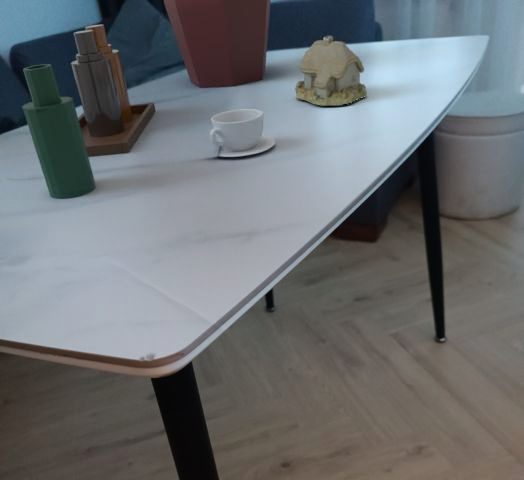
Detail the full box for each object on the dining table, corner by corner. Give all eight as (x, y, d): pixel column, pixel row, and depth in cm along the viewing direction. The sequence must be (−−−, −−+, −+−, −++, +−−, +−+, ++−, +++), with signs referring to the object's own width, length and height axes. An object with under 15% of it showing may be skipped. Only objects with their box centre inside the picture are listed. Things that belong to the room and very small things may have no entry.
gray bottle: (85, 138, 97) (58, 36, 89) (94, 128, 102) (69, 31, 94) (121, 134, 97) (97, 31, 88) (128, 125, 102) (106, 26, 93)
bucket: (302, 72, 130) (294, -68, 115) (230, 95, 117) (211, -58, 103) (225, 67, 145) (210, -57, 130) (154, 87, 132) (129, -48, 118)
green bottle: (43, 200, 76) (3, 74, 68) (57, 184, 81) (21, 65, 73) (89, 196, 76) (54, 68, 67) (100, 180, 81) (69, 59, 72)
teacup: (245, 135, 92) (241, 103, 89) (289, 145, 86) (287, 111, 83) (193, 153, 87) (187, 120, 84) (236, 164, 80) (231, 129, 78)
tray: (47, 166, 89) (42, 150, 88) (89, 122, 110) (86, 109, 109) (129, 158, 88) (126, 142, 87) (156, 115, 109) (153, 102, 108)
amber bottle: (96, 127, 103) (71, 30, 95) (103, 118, 108) (81, 25, 100) (129, 123, 103) (108, 26, 94) (136, 115, 108) (116, 21, 99)
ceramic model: (380, 95, 105) (381, 31, 99) (335, 110, 99) (333, 43, 94) (324, 88, 114) (321, 29, 108) (280, 101, 109) (275, 40, 103)
